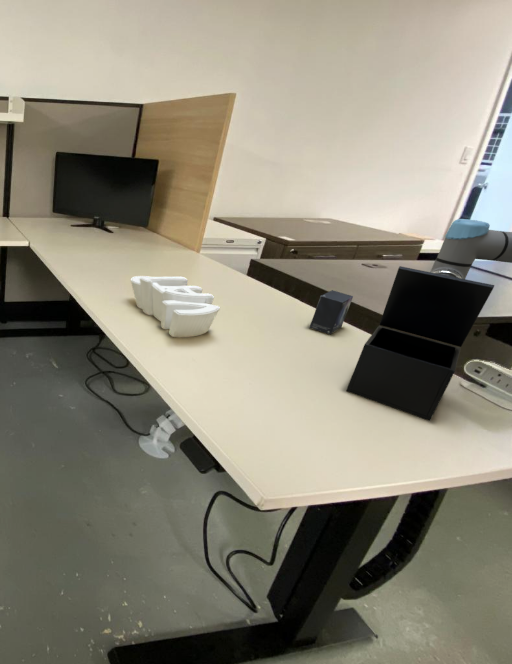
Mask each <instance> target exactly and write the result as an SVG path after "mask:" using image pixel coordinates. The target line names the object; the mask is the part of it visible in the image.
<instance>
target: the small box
mask: <svg viewBox="0 0 512 664" xmlns="http://www.w3.org/2000/svg"><path fill="white" fill-rule="evenodd" d="M353 298H354V296H353V295H350V294H347V293H344V292H340V291H337V290H334V289H332V290H329V291H327V292H326V293H323V294H321V295H320V296H319V299H318V302H317V305H316V308H315V309H314V313H313V316H312V319H311V322H310V324H309V327H308V329H311V330H313V331H317V332H320V333H323V334H326V335H329V336H331V335H332V334H333V333H335V332H336V331H338V330H340V329H341V328H342V327H343V324H344V321H345V319H346V316H347V313H348V311H349V308H350V306H351V304H352V301H353Z"/></svg>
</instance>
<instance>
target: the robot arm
mask: <svg viewBox="0 0 512 664" xmlns="http://www.w3.org/2000/svg"><path fill="white" fill-rule="evenodd" d="M490 225H491V224H490V223H489V222H486V221H482V220H475V219H467V218H457V219H455V220H453V221H452V223H451V224H450V226H449V228H448V230H447V232H446V233H445V236H444V239H443V242H442V244H441V247H440V249H439V252H438V254H437V256H436V258H435V260H434V262H433V265H432V267H431V269H430V271H429V272H431V273H436V274H441V275H446V276H451V277H456V278H461V279H466V278H467V276H468V274H469V272H470V269H471V268H472V266H473V264H474V262H475V260H480V261H491V262H492V261H493V262H499V263H500V262H502V263H509V264H512V231H505V230H504V231H502V230H495V229H490Z"/></svg>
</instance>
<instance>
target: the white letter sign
mask: <svg viewBox="0 0 512 664" xmlns="http://www.w3.org/2000/svg"><path fill="white" fill-rule="evenodd" d="M188 281H189V280H188V279H187V278H186V277H184V276H181V275H179V276H174V275H173V276H148V275H135V276H132V277H131V278H130V283H131V287H132V291H133V295H134V298H135V304H136V307H137V308H138V309H140V310H142V312H143V313H144V314H146V315H148V316H154V318H155V319H157V320H158V321H159V322H160V328H162V329H163V330H168V335H170V336H171V337H172V338H192V337H197V336H201V335H204V334H207V332H208V331H209V330H210V328H211V327H212V324H213V322H214V320H215V318H216V316H217V315H218V313H219V311H220V309H221V307H220V305H215V304H213V301H214V299H215V296H214V295H213V294H212V293H211V292H206V293H203V288H202V287H201V286H198V285H188V283H189V282H188Z"/></svg>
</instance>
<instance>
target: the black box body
mask: <svg viewBox="0 0 512 664" xmlns="http://www.w3.org/2000/svg"><path fill="white" fill-rule="evenodd" d="M361 349H362V350H361V352H360V354H359V358H358V360H357V362H356V364H355V367H354V370H353V372H352V375H351V377H350V380H349V382H348V385H347V387H346V390H345V391H346V392H347V393H350V394H352V395H355V396H358V397H362V398H365V399H367V400H370V401H372V402H376V403H378V404H381V405H384V406H387V407H390V408H393V409H395V410H398V411H401V412H404V413H406V414H409V415H412V416H414V417H417V418H419V419H424V420H426V421H429V422H431V420H432V418H433V416H434V415H435V412H436V410H437V408H438V406H439V404H440V402H441V401H442V398H443V396H444V394H445V392H446V390H447V388H448V386H449V384H450V382H451V380H452V378H453V376H454V374H455V372H456V368H457V365H458V364H457V363H458V360H459V357H460V352H461V347H459V346H455V345H452V344H448V343H444V342H441V341H437V340H433V339H430V338H426V337H422V336H418V335H415V334H411V333H407V332H404V331H400V330H396V329H393V328H389V327H385V326H382V325H378V326H377V328H376V329H375V330H374V332H373V333H372V334H371V335H370V337H369V338H368V339H367V340H366V341H365V343H364V345H363V347H362V348H361Z"/></svg>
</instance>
